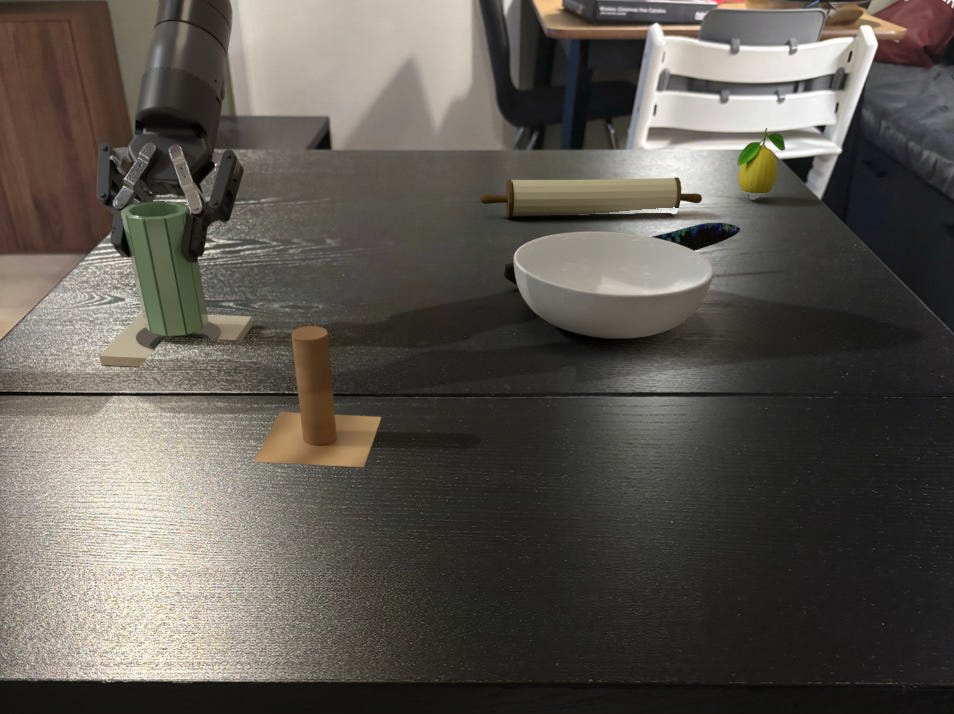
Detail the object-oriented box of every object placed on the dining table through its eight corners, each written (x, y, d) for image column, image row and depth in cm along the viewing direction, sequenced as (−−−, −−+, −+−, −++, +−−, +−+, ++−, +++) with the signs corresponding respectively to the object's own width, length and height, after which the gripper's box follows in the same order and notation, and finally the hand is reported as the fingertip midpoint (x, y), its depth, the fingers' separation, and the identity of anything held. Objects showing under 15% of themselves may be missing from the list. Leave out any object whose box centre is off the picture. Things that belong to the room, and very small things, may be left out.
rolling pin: (482, 223, 131) (483, 184, 128) (478, 212, 136) (478, 174, 132) (704, 220, 135) (710, 182, 131) (693, 209, 139) (699, 172, 136)
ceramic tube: (137, 335, 93) (111, 217, 86) (158, 312, 98) (135, 199, 91) (196, 337, 92) (175, 220, 85) (215, 314, 97) (196, 201, 90)
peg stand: (255, 474, 76) (236, 352, 69) (281, 424, 83) (266, 309, 76) (365, 480, 75) (356, 358, 69) (382, 429, 82) (376, 314, 76)
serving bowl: (662, 378, 92) (673, 308, 87) (476, 335, 99) (478, 269, 95) (728, 313, 106) (740, 249, 101) (561, 279, 114) (565, 219, 109)
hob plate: (100, 365, 92) (98, 354, 91) (143, 320, 101) (141, 310, 100) (221, 371, 91) (219, 360, 91) (253, 325, 101) (252, 315, 100)
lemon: (775, 197, 145) (790, 125, 139) (775, 207, 140) (791, 133, 134) (731, 194, 146) (743, 122, 140) (730, 203, 142) (743, 129, 135)
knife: (508, 304, 111) (505, 266, 108) (501, 294, 113) (499, 257, 110) (747, 259, 115) (752, 221, 112) (736, 250, 117) (740, 213, 114)
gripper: (92, 60, 88) (63, 230, 86) (239, 67, 86) (212, 240, 84) (130, 113, 95) (104, 270, 94) (266, 120, 93) (241, 280, 92)
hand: (155, 255), depth 89 cm, fingers closed on ceramic tube, 6 cm apart
